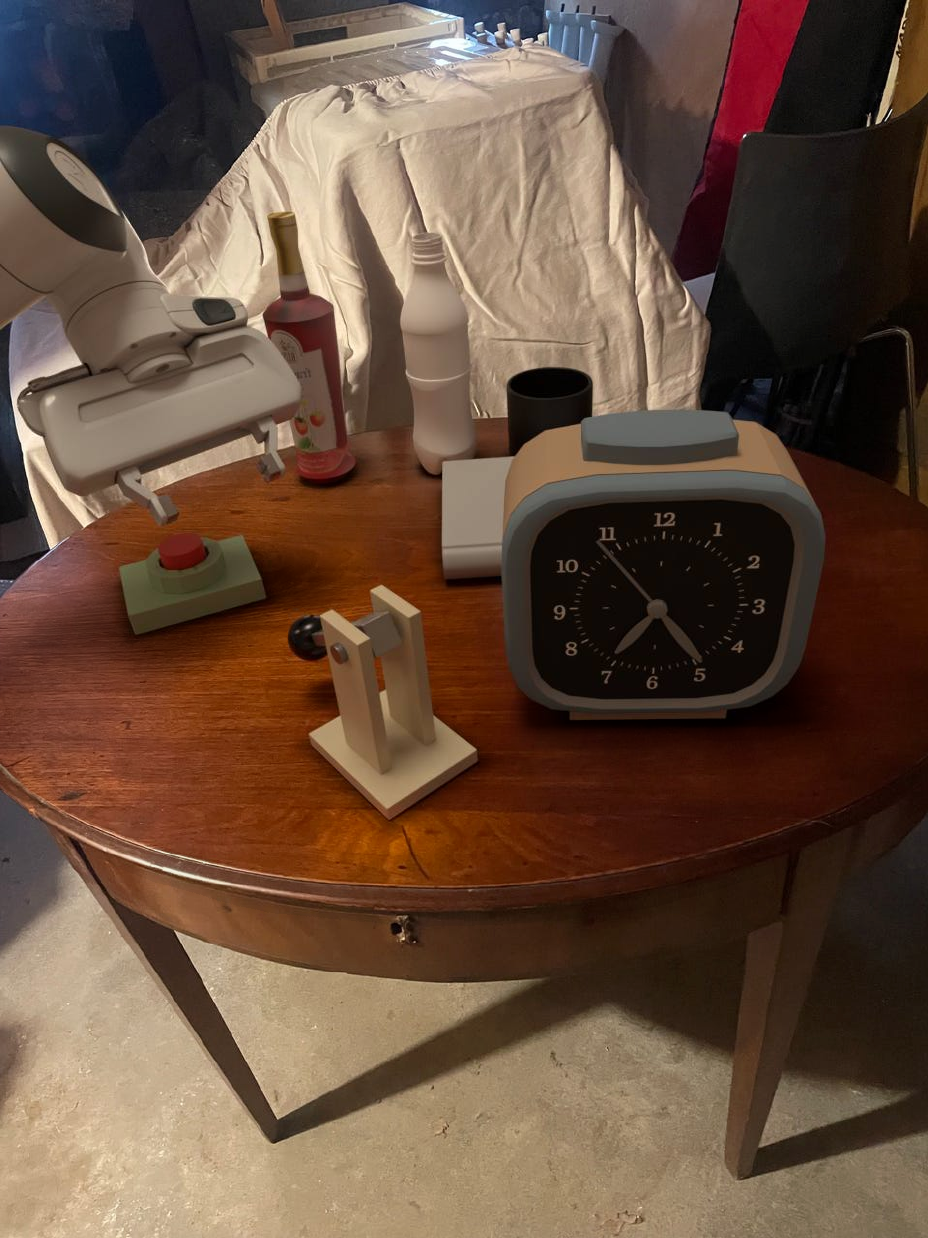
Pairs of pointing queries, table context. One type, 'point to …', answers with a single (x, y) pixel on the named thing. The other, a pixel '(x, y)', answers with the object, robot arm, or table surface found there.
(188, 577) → the button box
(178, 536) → the button
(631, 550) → the alarm clock
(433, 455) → the water bottle
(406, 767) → the bracket
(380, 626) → the lever
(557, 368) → the mug
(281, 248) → the liquor
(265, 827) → the table surface
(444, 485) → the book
